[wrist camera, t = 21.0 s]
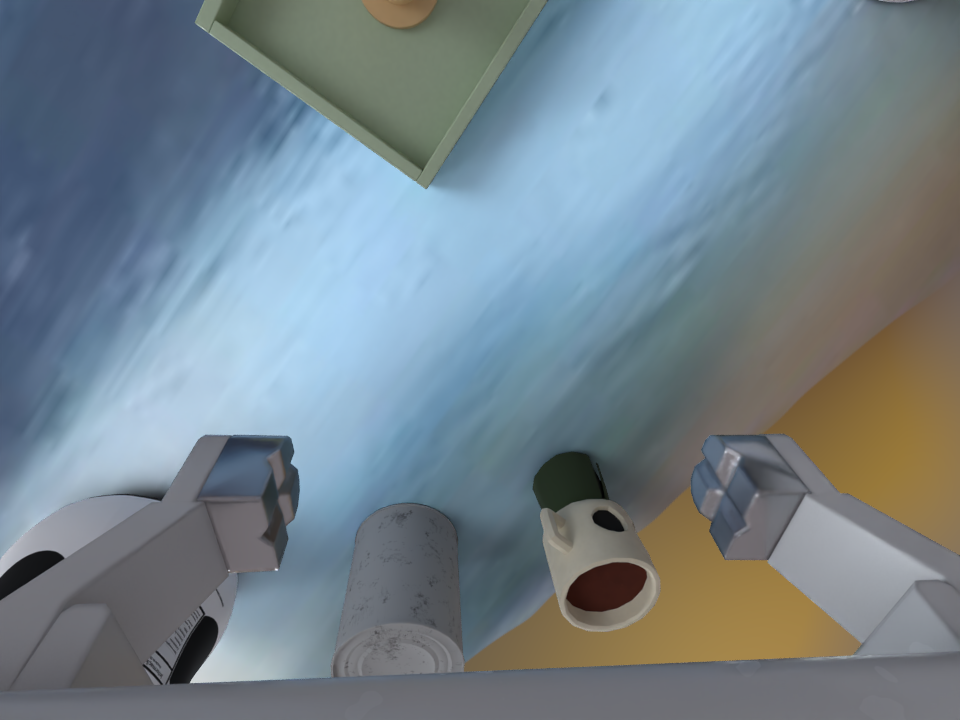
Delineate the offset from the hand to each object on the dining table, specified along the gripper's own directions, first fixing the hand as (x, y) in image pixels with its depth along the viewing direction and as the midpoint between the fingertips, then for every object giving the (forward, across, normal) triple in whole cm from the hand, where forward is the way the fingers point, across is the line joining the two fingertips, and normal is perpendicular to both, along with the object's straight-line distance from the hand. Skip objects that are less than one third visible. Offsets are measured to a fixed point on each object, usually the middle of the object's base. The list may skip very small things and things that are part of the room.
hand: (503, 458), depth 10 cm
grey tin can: (+24, +4, +34) cm, 42 cm away
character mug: (+25, -10, +26) cm, 38 cm away
